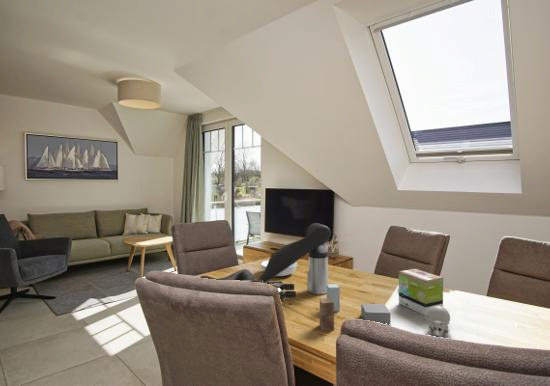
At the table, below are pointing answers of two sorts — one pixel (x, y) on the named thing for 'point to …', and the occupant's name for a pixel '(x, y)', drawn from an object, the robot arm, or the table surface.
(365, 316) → the grey block
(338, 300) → the bluegrey block
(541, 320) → the table surface
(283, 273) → the serving bowl
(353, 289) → the table surface
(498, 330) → the table surface
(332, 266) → the table surface
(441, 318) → the round bodied animal figurine
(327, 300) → the walnut block
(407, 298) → the tea box
